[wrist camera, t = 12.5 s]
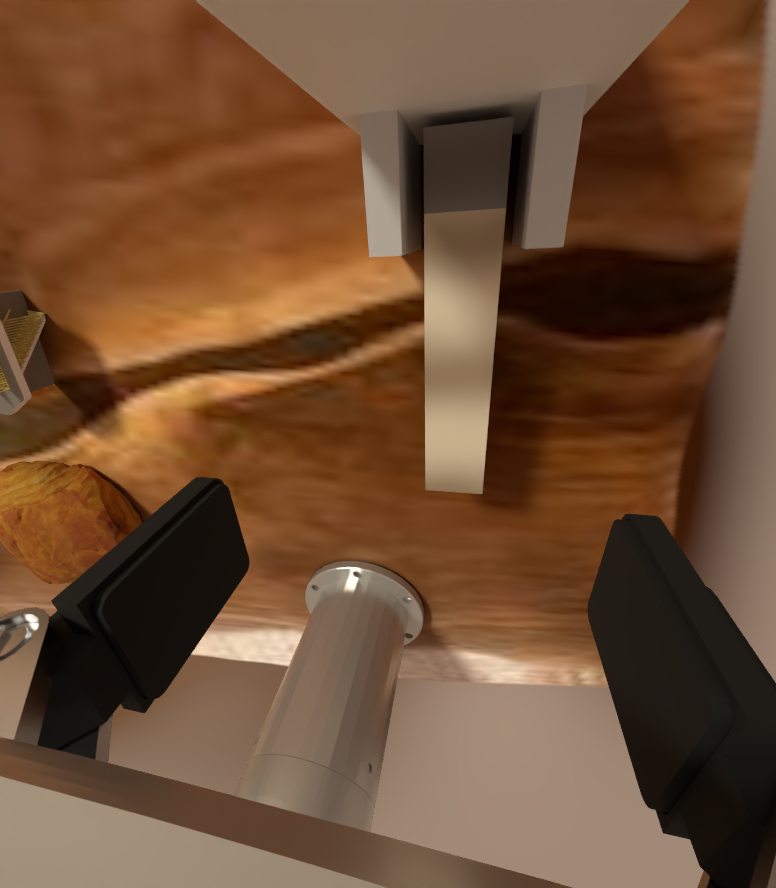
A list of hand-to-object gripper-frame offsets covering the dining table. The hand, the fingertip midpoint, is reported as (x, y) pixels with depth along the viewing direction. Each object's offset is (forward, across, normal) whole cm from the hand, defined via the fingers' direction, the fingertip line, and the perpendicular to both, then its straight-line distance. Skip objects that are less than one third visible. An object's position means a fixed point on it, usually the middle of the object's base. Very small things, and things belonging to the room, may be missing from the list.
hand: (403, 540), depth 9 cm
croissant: (+19, +38, +19) cm, 47 cm away
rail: (+19, -1, -2) cm, 19 cm away
